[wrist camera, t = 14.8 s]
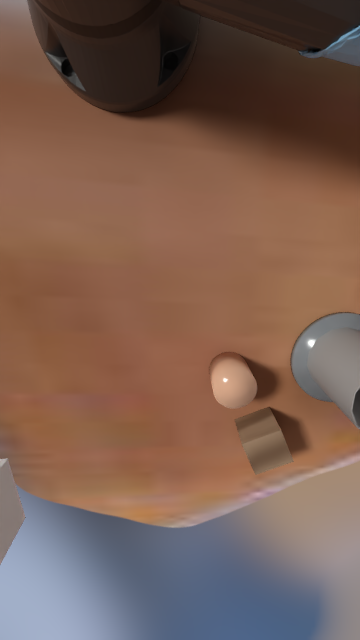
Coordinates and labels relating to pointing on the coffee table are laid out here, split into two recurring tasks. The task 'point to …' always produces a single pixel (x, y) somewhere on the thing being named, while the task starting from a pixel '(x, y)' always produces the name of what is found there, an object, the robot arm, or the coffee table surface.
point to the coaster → (308, 340)
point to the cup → (338, 369)
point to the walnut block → (263, 441)
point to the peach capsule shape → (232, 380)
